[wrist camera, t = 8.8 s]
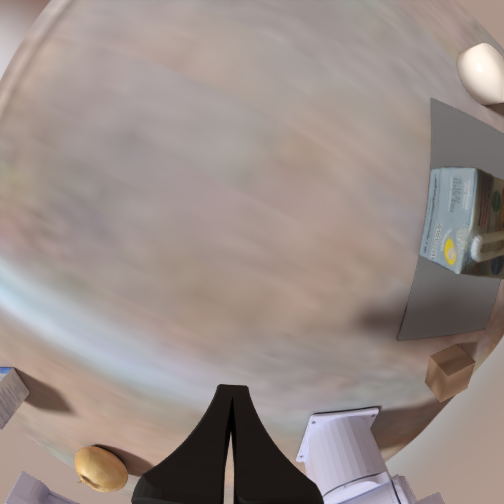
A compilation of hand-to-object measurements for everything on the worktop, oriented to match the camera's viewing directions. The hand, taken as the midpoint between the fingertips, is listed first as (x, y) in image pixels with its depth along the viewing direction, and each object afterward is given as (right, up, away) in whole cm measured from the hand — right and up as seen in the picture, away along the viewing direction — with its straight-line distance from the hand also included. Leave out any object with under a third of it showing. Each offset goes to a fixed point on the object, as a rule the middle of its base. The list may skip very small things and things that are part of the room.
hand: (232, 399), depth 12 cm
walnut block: (+22, -6, +12) cm, 26 cm away
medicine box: (-33, -11, +13) cm, 37 cm away
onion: (-20, -22, +16) cm, 34 cm away
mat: (+22, +9, +8) cm, 25 cm away
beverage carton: (+24, +10, +8) cm, 27 cm away
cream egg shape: (+23, +24, +4) cm, 34 cm away
